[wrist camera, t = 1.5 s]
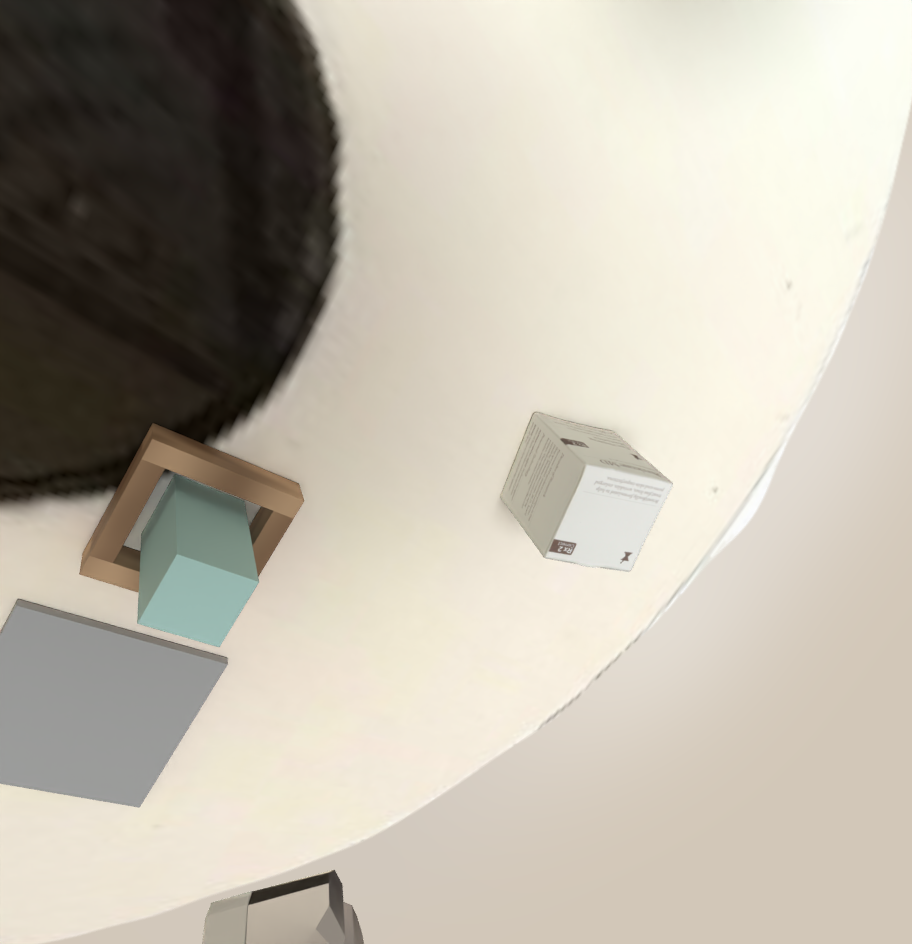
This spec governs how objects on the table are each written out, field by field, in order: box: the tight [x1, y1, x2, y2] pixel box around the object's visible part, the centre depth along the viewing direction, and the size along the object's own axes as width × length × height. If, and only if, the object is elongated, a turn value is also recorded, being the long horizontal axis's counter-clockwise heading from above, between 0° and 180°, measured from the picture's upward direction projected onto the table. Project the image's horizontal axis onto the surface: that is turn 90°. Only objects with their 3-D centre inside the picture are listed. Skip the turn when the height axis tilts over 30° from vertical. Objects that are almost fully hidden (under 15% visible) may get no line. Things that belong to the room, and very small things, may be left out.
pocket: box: [79, 423, 304, 592], centre depth 42 cm, size 8×8×2 cm
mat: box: [0, 599, 228, 808], centre depth 46 cm, size 12×12×1 cm
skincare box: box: [501, 413, 673, 572], centre depth 46 cm, size 6×6×7 cm
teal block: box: [137, 474, 259, 647], centre depth 40 cm, size 4×4×8 cm
